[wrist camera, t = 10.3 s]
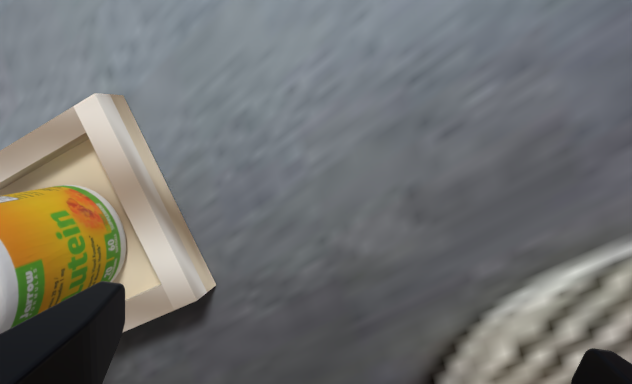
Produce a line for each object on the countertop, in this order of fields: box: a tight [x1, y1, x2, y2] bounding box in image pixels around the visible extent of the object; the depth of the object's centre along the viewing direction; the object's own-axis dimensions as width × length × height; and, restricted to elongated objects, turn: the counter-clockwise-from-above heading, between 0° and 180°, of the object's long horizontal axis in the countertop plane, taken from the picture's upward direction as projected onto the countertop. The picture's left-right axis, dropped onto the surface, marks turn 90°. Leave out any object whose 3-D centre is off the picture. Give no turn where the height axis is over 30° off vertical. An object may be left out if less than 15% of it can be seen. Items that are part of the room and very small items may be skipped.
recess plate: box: [0, 93, 216, 332], centre depth 23 cm, size 10×10×2 cm
